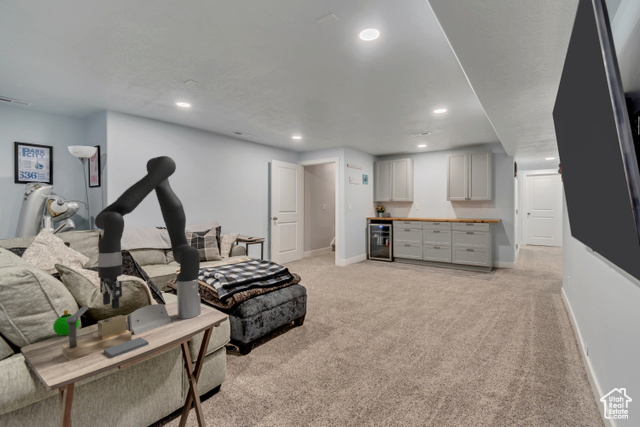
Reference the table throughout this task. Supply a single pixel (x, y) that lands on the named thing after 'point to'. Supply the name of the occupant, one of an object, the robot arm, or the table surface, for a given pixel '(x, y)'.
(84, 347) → the wooden base stand
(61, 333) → the ornament
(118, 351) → the mat
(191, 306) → the robot arm
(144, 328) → the grey upright curved plate
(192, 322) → the table surface
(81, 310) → the lever
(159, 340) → the table surface
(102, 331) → the tan rectangular block
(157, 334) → the table surface
